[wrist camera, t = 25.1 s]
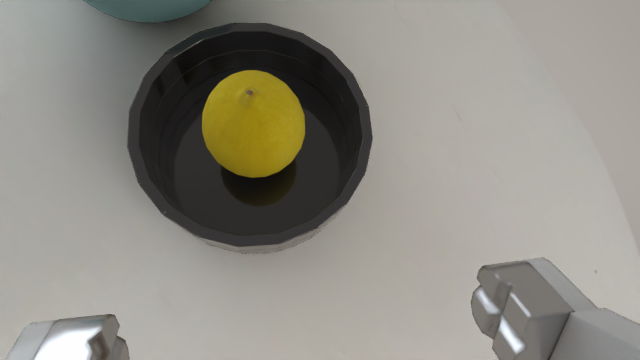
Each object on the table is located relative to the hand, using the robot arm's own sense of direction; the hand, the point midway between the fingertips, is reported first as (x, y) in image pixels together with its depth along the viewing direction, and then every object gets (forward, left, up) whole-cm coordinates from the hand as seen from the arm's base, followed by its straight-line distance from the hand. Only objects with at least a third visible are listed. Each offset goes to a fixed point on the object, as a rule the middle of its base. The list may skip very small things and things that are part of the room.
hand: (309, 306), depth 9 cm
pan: (-2, -9, -15) cm, 18 cm away
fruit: (-2, -9, -15) cm, 18 cm away
